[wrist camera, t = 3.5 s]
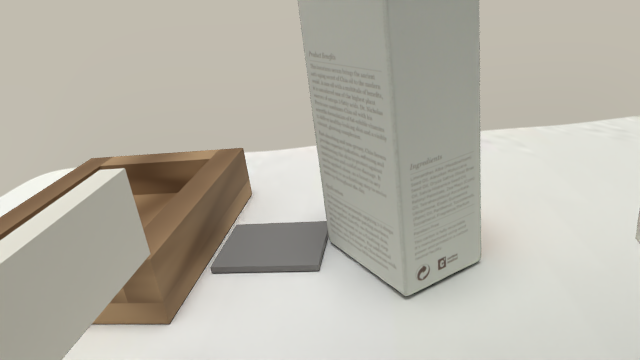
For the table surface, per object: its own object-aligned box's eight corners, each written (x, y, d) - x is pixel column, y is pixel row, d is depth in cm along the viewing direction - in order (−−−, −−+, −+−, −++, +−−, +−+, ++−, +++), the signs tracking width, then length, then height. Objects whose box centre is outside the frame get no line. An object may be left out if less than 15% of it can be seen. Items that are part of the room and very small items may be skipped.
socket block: (252, 193, 31) (242, 147, 29) (169, 323, 20) (150, 259, 19) (105, 201, 32) (91, 158, 31) (-44, 323, 22) (-74, 265, 20)
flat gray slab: (330, 226, 25) (330, 221, 25) (318, 270, 22) (318, 264, 22) (237, 229, 26) (236, 224, 26) (211, 272, 23) (210, 267, 23)
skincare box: (485, 261, 21) (486, -49, 16) (405, 302, 19) (381, -34, 15) (395, 213, 26) (376, -35, 21) (325, 241, 24) (288, -23, 20)
